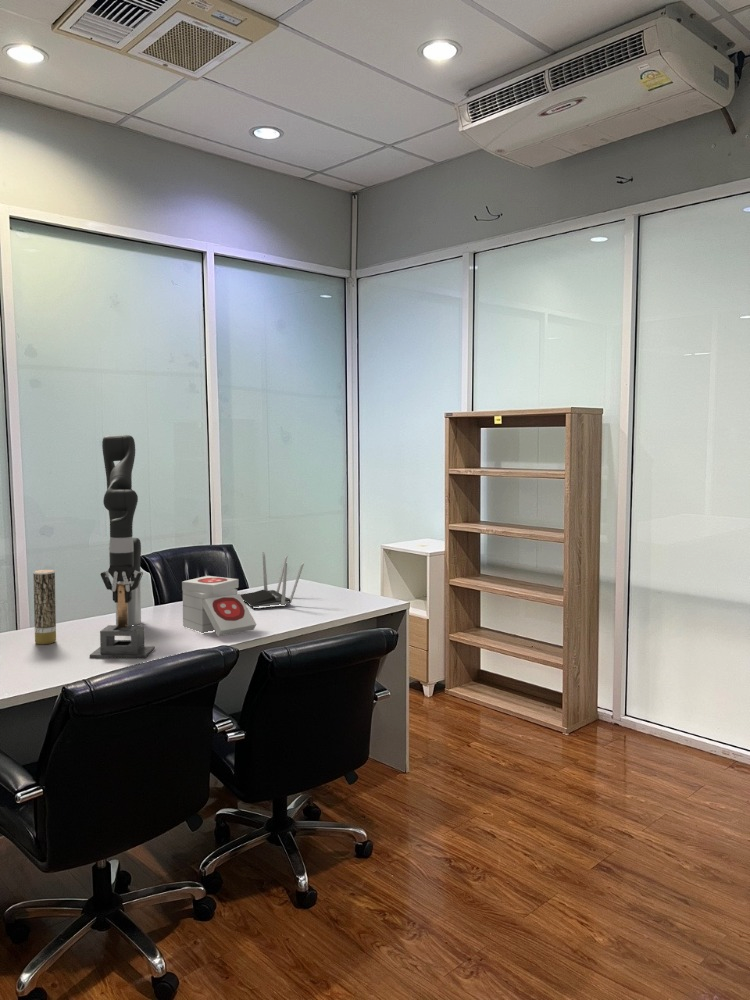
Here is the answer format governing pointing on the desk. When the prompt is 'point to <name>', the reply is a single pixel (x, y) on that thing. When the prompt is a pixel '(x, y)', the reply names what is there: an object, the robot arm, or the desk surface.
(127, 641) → the stand
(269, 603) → the wireless router
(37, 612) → the bark log
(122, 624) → the tan wooden rod
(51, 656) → the desk surface
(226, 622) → the stack of pizza boxes
